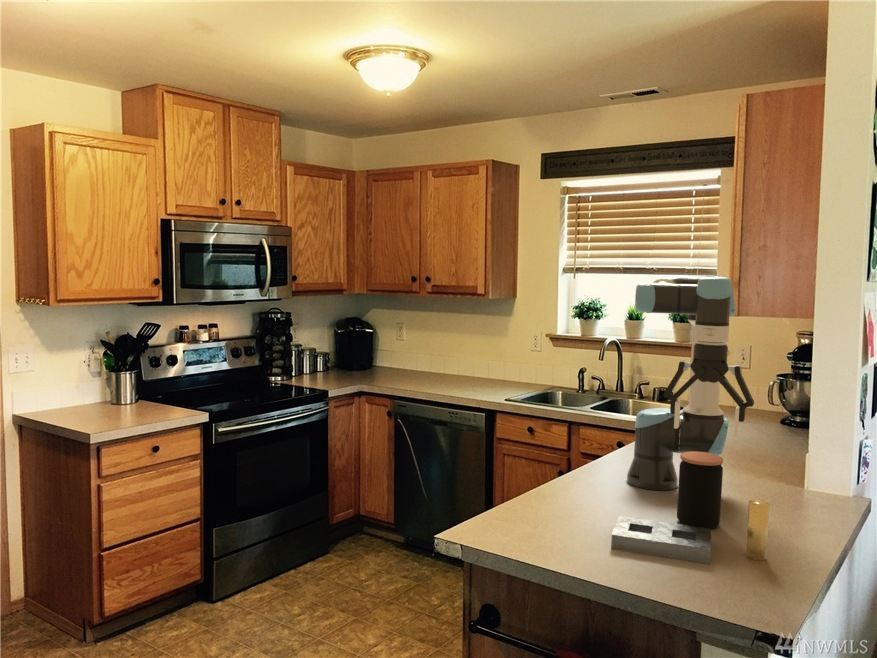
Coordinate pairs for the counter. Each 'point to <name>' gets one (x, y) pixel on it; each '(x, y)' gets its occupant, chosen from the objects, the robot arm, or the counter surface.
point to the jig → (662, 539)
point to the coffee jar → (700, 489)
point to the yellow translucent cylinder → (757, 530)
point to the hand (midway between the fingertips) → (705, 431)
